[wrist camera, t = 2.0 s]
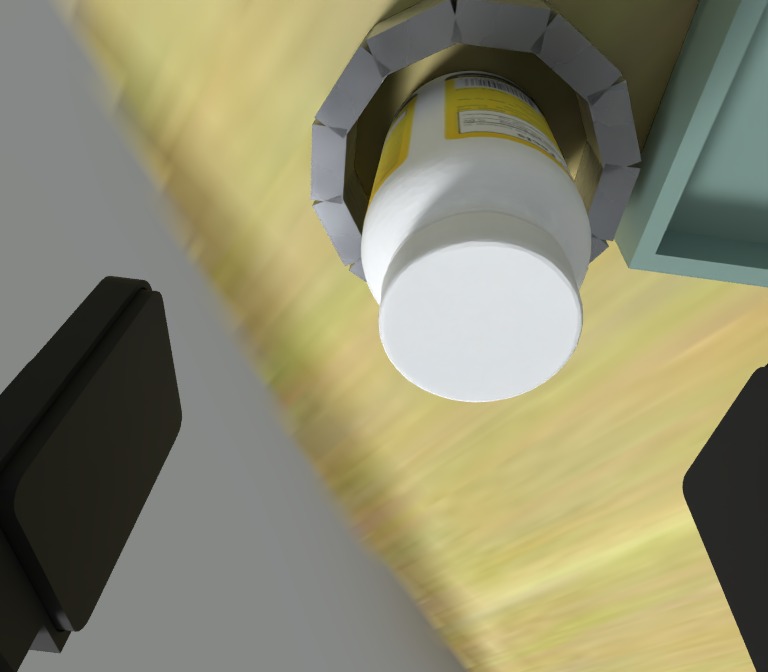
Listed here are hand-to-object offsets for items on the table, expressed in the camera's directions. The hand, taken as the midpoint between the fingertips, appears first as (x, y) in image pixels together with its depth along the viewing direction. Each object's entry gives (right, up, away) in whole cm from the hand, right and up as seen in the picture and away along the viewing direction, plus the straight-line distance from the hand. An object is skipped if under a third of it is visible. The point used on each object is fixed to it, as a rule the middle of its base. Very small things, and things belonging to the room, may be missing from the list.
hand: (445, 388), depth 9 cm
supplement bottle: (+2, +7, +10) cm, 12 cm away
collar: (+2, +7, +10) cm, 12 cm away
